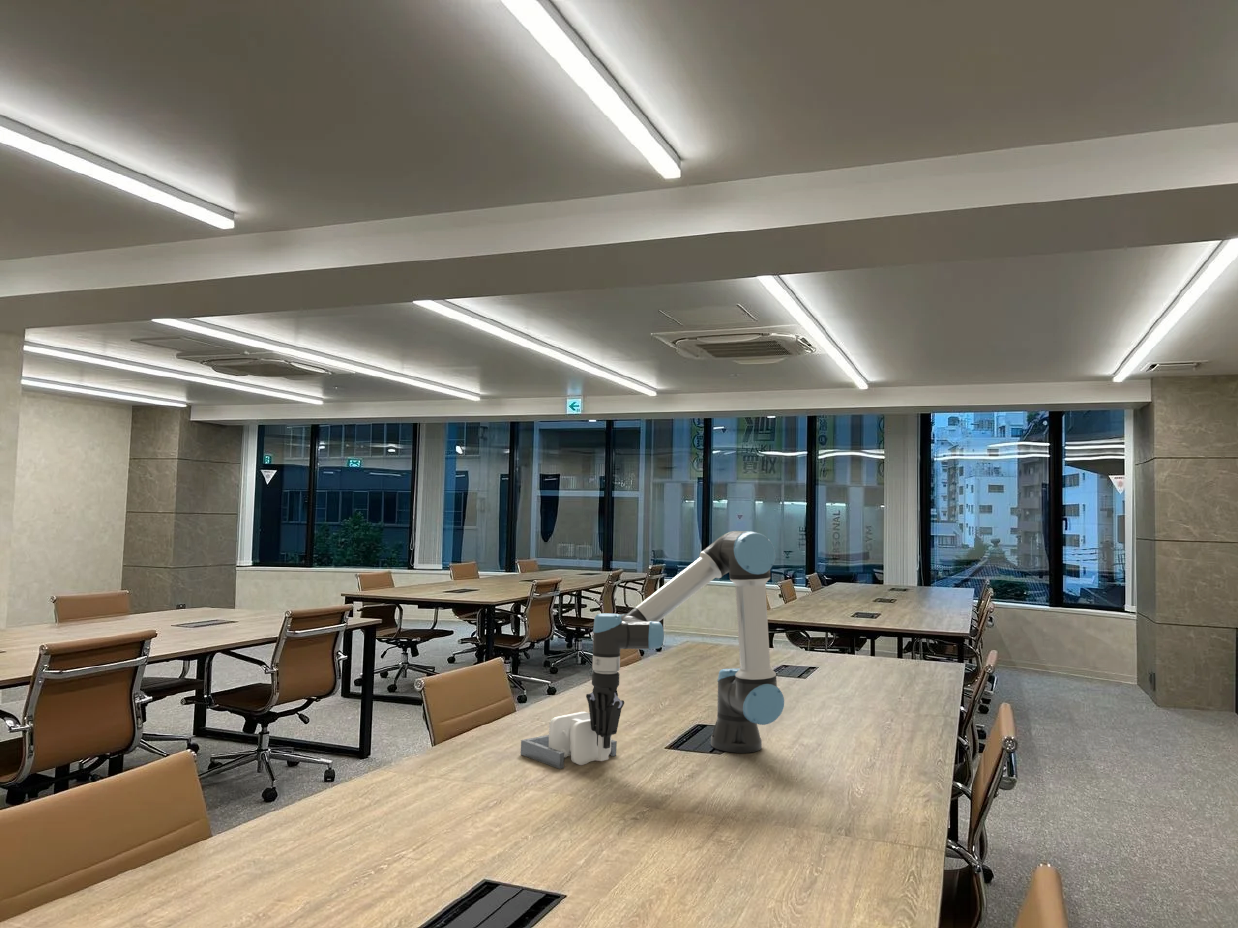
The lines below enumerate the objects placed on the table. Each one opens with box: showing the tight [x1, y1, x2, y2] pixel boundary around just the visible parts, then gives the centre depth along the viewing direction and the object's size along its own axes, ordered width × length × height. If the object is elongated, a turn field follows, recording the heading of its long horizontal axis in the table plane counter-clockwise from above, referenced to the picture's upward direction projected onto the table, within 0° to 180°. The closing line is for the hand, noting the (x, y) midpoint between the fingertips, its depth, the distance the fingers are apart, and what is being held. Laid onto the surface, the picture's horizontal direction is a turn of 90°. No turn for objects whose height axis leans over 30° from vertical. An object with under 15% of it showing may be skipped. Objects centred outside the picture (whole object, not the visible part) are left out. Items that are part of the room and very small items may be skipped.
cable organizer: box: [548, 711, 613, 766], centre depth 234 cm, size 15×11×12 cm
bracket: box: [520, 734, 618, 770], centre depth 237 cm, size 17×21×4 cm
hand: (602, 759), depth 227 cm, fingers closed
